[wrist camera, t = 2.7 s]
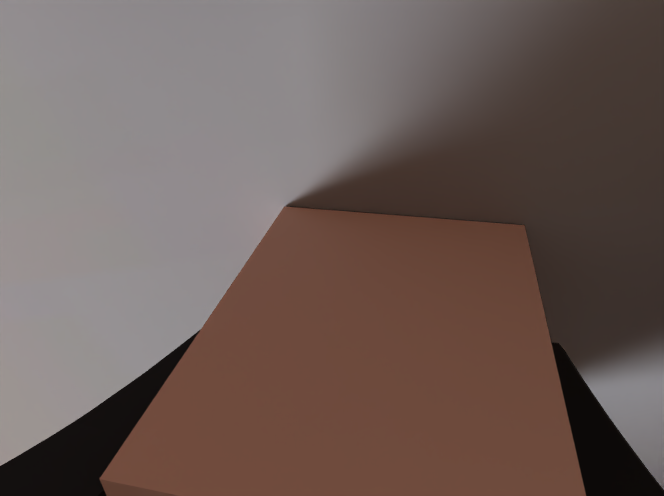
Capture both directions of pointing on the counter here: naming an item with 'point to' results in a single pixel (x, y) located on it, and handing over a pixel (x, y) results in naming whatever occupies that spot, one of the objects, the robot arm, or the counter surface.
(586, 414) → the robot arm
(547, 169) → the counter surface
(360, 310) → the terracotta block
